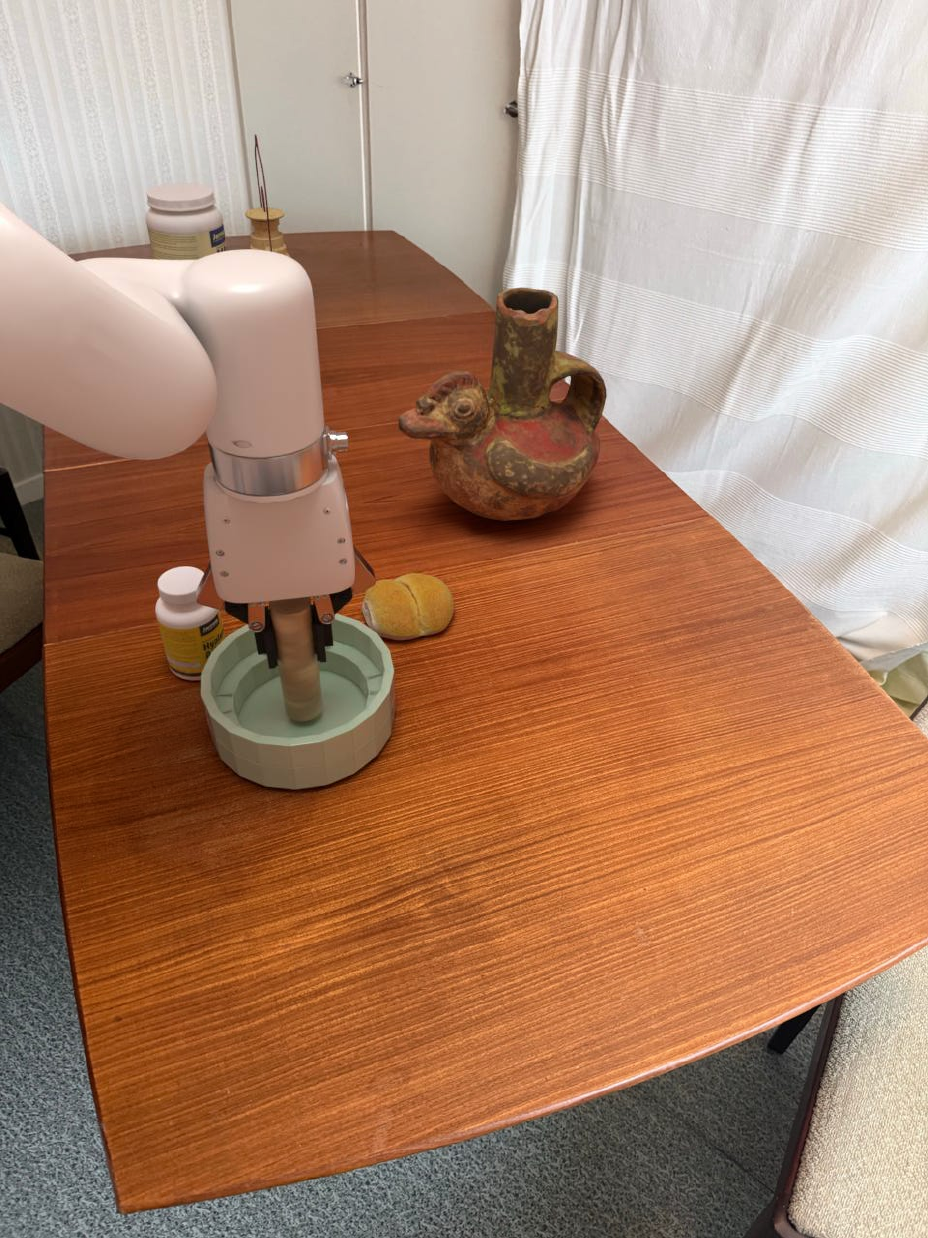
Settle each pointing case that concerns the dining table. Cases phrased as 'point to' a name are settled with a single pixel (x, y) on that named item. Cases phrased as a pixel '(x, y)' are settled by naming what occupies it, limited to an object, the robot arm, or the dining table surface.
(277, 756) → the bowl
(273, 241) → the lantern
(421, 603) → the bread roll
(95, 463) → the dining table surface
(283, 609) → the stirring stick
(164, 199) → the supplement tub
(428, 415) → the ceramic vessel
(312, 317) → the robot arm
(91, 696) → the dining table surface
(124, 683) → the dining table surface
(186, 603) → the supplement bottle
